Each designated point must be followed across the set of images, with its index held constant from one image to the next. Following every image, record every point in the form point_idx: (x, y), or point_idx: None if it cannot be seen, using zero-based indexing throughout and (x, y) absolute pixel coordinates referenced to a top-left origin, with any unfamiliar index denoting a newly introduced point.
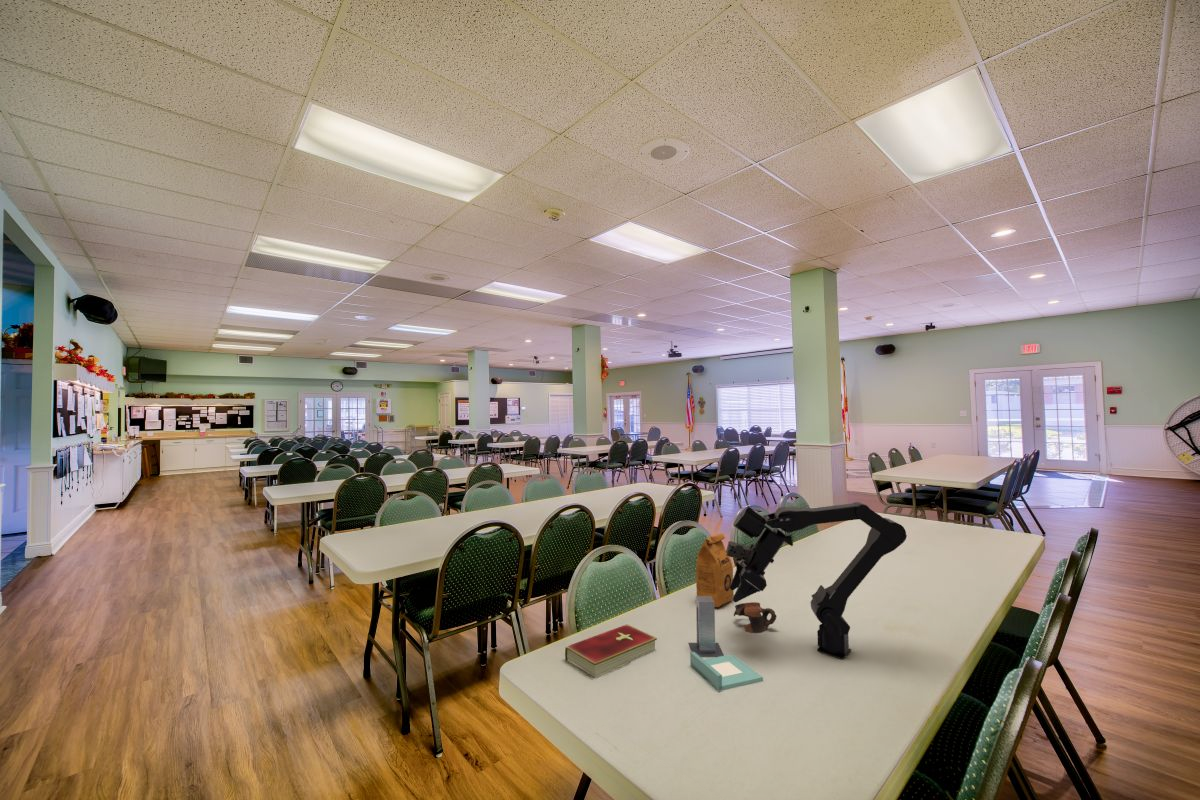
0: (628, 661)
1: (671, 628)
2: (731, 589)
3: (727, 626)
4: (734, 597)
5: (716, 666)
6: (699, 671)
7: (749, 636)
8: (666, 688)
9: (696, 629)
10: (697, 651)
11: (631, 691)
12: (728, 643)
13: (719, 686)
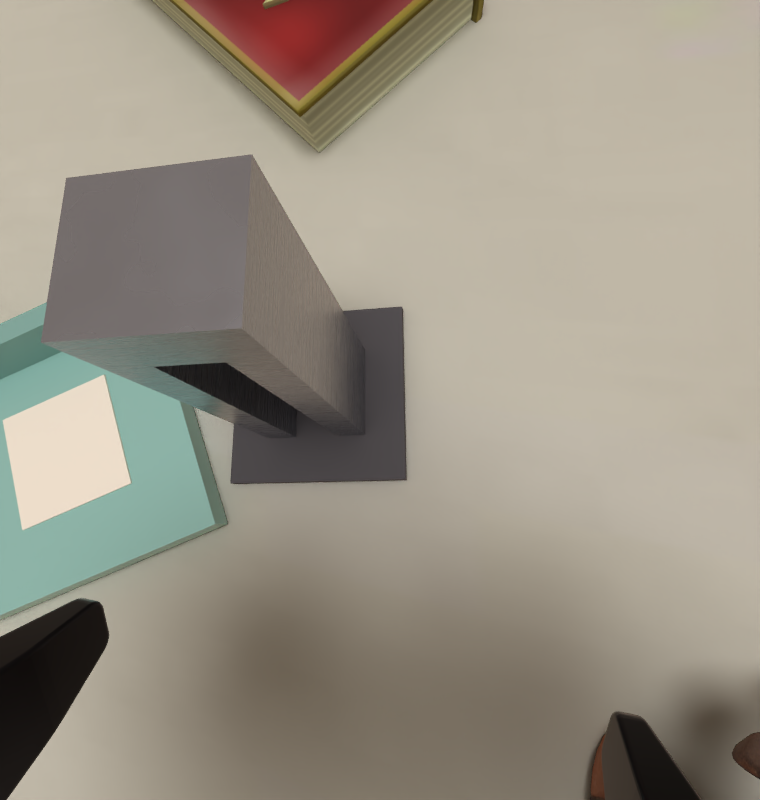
0: (216, 55)
1: (621, 228)
2: (607, 735)
3: (716, 614)
4: (24, 630)
5: (93, 410)
6: None
7: (543, 739)
8: (22, 205)
9: (344, 314)
10: None
11: (23, 95)
12: (422, 550)
13: None
